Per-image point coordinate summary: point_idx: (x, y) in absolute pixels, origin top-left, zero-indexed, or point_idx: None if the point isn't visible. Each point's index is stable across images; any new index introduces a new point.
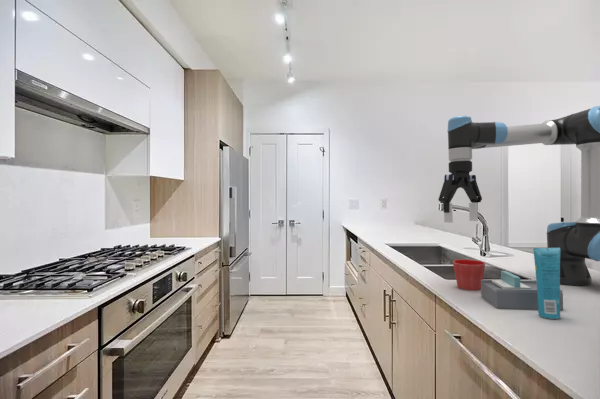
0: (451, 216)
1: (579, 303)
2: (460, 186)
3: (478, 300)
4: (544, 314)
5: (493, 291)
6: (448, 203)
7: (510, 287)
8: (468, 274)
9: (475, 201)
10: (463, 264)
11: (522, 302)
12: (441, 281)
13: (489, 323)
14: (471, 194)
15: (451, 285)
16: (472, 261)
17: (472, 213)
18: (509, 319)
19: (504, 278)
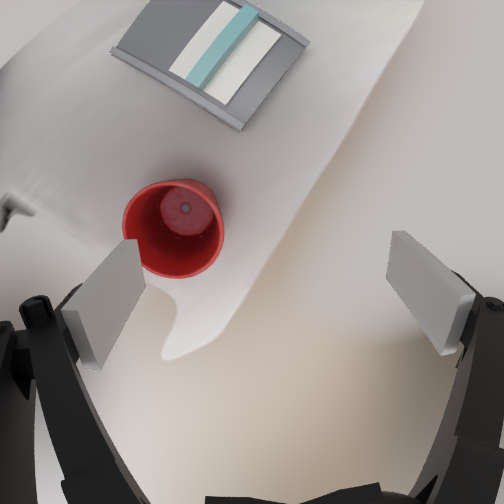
0: (418, 246)
1: (103, 6)
2: (376, 496)
3: (278, 112)
4: None
5: (296, 58)
6: (476, 307)
7: (267, 26)
8: (212, 196)
9: (62, 333)
10: (219, 215)
11: None
12: (198, 289)
13: (398, 22)
14: (86, 396)
15: None
16: None
17: (124, 291)
18: (346, 7)
19: (217, 68)
